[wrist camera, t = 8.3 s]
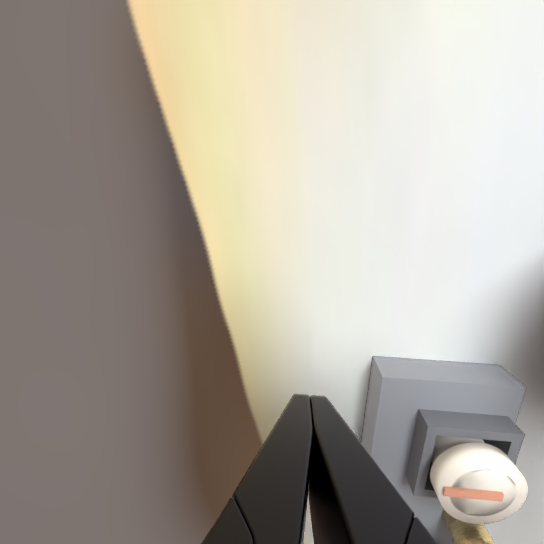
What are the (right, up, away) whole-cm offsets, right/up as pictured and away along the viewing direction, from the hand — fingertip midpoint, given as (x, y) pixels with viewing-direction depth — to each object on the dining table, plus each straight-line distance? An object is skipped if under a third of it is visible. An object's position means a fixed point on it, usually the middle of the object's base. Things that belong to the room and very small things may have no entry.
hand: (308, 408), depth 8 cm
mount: (+10, -13, +16) cm, 23 cm away
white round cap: (+12, -8, +14) cm, 20 cm away
